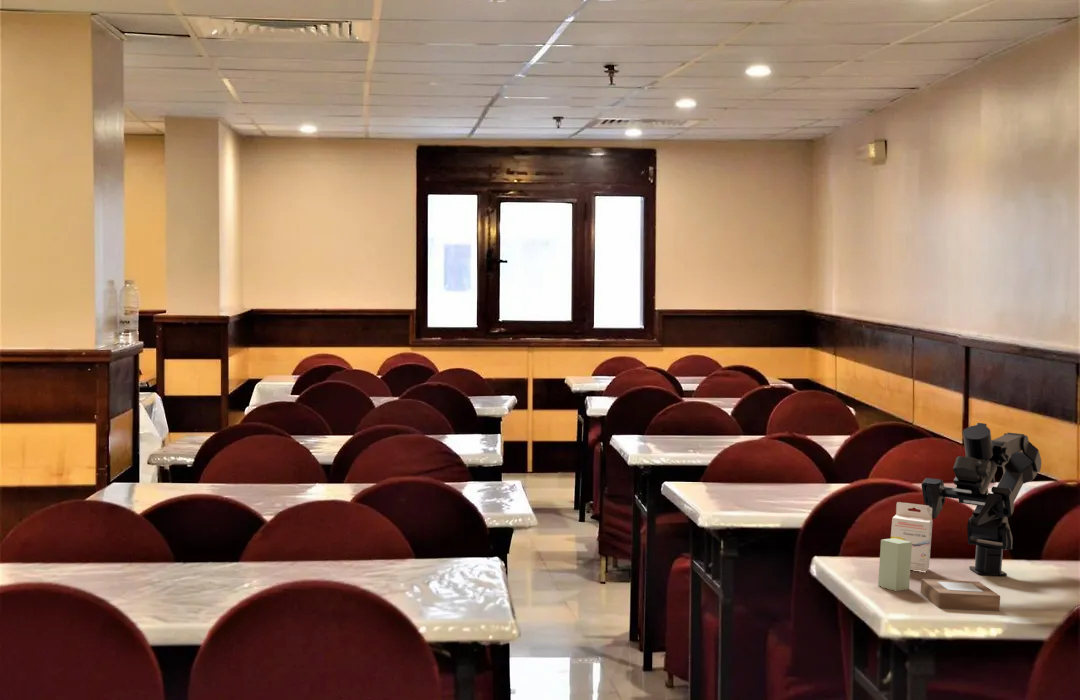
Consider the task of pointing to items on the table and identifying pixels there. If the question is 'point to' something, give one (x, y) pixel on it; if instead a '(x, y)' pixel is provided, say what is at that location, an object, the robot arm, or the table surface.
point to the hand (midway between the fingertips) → (954, 520)
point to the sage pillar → (895, 564)
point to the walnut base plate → (960, 594)
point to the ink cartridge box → (914, 532)
